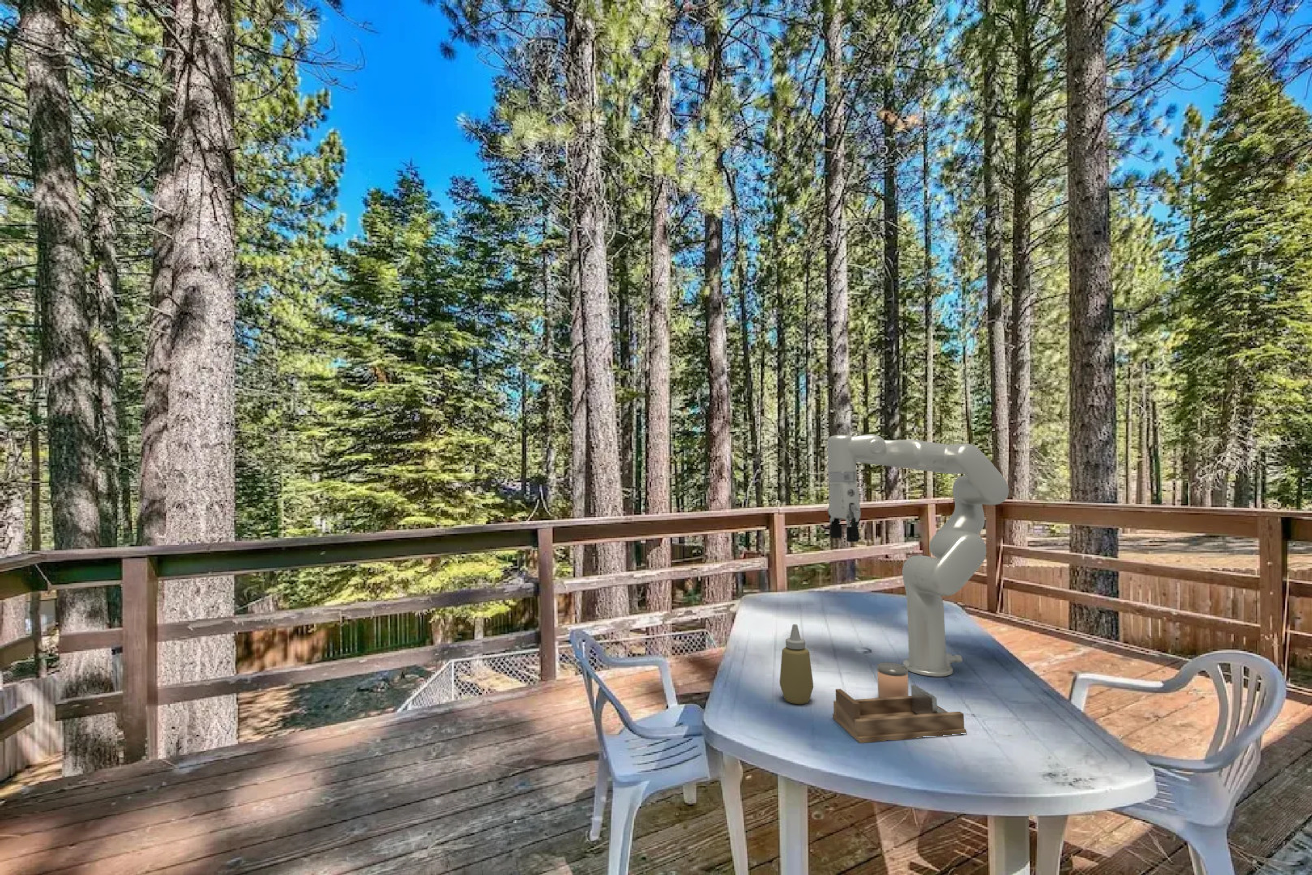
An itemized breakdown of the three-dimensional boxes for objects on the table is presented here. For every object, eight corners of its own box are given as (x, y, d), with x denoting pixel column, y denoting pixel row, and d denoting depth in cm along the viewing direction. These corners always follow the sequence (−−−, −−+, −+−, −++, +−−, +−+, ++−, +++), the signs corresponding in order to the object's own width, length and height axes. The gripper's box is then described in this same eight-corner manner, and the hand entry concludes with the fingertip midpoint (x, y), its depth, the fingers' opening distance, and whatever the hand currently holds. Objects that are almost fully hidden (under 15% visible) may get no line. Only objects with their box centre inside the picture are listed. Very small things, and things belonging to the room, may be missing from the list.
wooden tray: (930, 711, 129) (929, 680, 129) (966, 734, 117) (964, 700, 117) (832, 718, 125) (831, 686, 126) (859, 742, 113) (858, 707, 114)
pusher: (924, 709, 126) (923, 684, 127) (946, 724, 119) (945, 697, 119) (912, 710, 126) (911, 685, 126) (933, 725, 118) (932, 698, 119)
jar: (898, 694, 139) (897, 661, 139) (914, 705, 132) (913, 671, 133) (872, 696, 138) (871, 663, 138) (888, 707, 131) (887, 672, 132)
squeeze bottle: (814, 696, 138) (812, 622, 139) (812, 708, 130) (810, 630, 132) (781, 692, 141) (780, 619, 142) (777, 704, 133) (776, 627, 134)
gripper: (870, 478, 149) (872, 542, 148) (840, 478, 166) (842, 536, 165) (844, 478, 148) (846, 543, 147) (816, 478, 165) (818, 536, 164)
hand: (844, 539), depth 156 cm, fingers open, 9 cm apart
